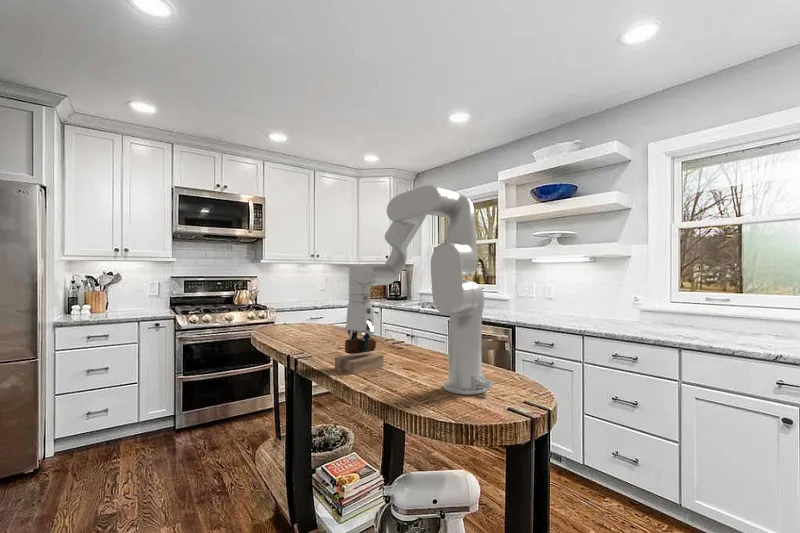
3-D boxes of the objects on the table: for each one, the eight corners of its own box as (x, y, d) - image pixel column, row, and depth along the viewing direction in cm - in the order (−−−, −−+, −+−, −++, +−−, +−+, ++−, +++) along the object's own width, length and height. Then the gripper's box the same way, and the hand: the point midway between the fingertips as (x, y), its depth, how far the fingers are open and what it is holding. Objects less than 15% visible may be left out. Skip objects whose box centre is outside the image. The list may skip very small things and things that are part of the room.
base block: (383, 366, 145) (383, 355, 145) (353, 374, 135) (353, 362, 135) (364, 362, 152) (364, 351, 152) (334, 369, 142) (334, 357, 142)
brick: (350, 354, 139) (350, 341, 139) (344, 352, 143) (344, 339, 143) (376, 351, 146) (376, 338, 146) (370, 349, 149) (370, 336, 149)
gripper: (383, 299, 141) (383, 352, 141) (352, 297, 152) (352, 346, 152) (367, 301, 135) (367, 355, 135) (336, 298, 147) (336, 348, 147)
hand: (359, 350), depth 144 cm, fingers closed on brick, 4 cm apart
